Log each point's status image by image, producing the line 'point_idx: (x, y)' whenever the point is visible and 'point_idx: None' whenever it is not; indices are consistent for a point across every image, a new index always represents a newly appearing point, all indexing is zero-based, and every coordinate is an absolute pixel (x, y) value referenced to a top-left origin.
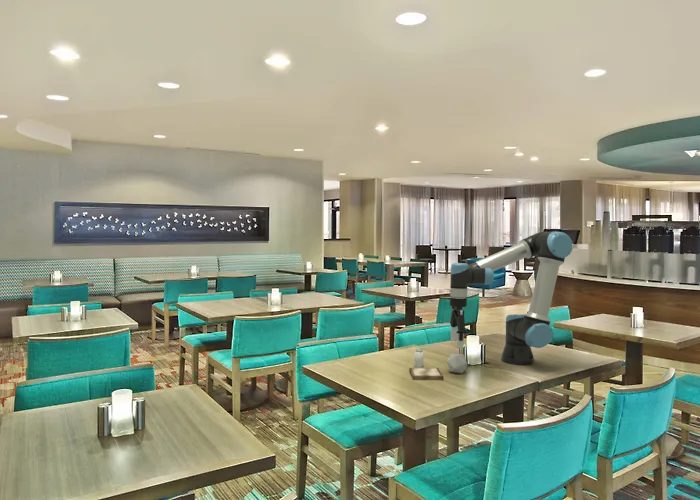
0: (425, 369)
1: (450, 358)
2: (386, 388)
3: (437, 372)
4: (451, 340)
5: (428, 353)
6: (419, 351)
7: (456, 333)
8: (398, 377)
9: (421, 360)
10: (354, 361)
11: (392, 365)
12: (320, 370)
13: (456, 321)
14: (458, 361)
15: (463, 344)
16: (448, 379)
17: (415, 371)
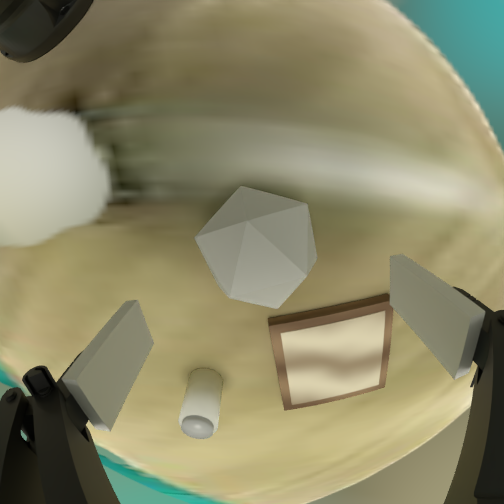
0: (303, 368)
1: (279, 298)
2: (435, 406)
3: (343, 325)
4: (150, 342)
5: (31, 332)
6: (212, 427)
7: (110, 342)
8: (355, 412)
9: (215, 392)
10: (213, 483)
11: (223, 437)
12: (301, 500)
13: (83, 468)
14: (310, 250)
15: (418, 264)
16: (380, 275)
17: (333, 391)
